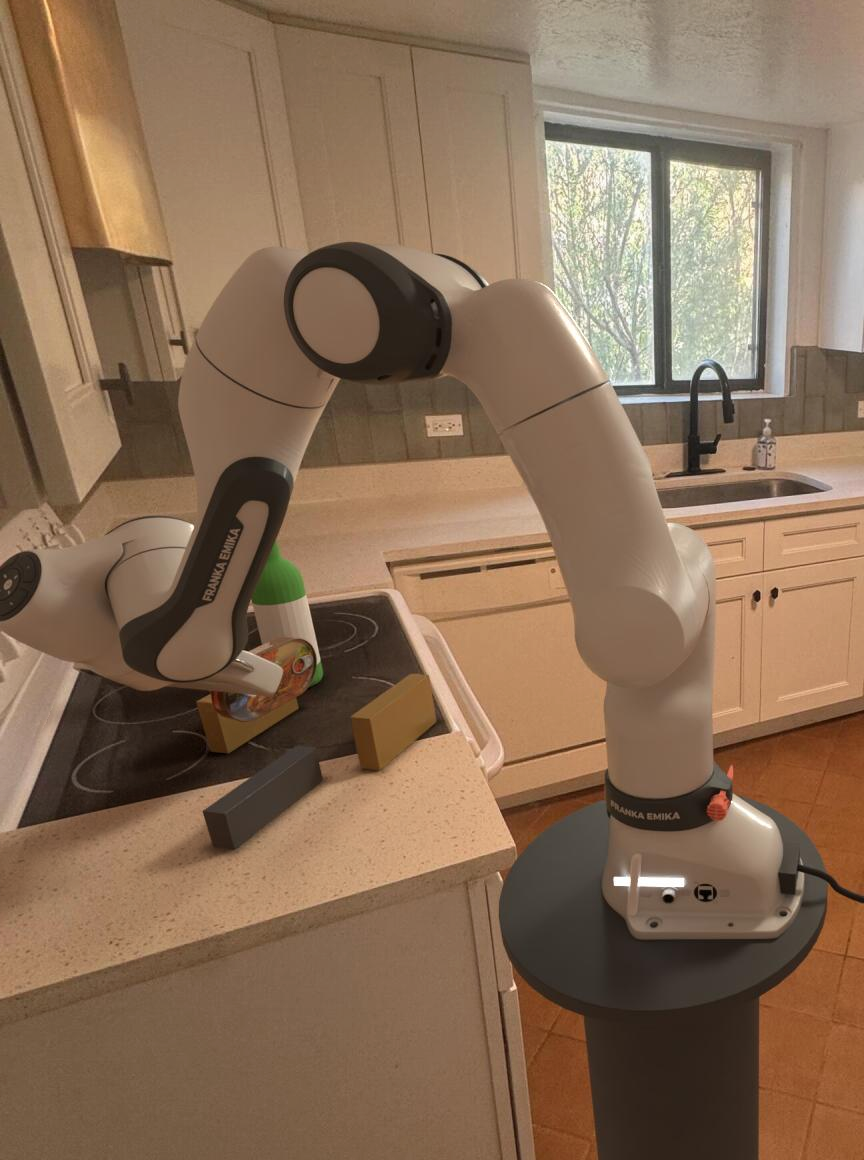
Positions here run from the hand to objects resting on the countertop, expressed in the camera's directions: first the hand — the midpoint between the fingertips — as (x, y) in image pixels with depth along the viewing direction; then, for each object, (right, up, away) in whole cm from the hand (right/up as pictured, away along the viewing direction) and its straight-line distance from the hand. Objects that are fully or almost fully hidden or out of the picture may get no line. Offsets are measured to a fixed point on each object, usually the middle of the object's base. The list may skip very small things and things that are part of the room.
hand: (239, 689), depth 99 cm
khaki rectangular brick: (+14, -9, +15) cm, 22 cm away
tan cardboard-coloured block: (-10, -8, +19) cm, 22 cm away
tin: (0, -3, +5) cm, 6 cm away
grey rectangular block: (+5, -15, -1) cm, 16 cm away
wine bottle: (-12, -2, +33) cm, 35 cm away
